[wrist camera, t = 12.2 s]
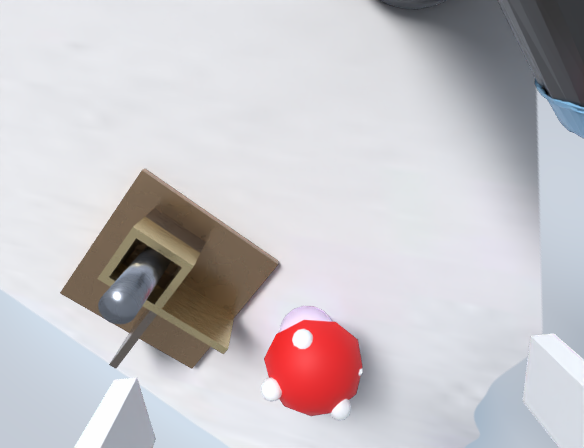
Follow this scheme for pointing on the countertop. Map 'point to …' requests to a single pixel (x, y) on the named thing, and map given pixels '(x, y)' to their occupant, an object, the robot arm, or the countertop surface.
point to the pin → (133, 287)
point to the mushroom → (313, 364)
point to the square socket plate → (173, 271)
